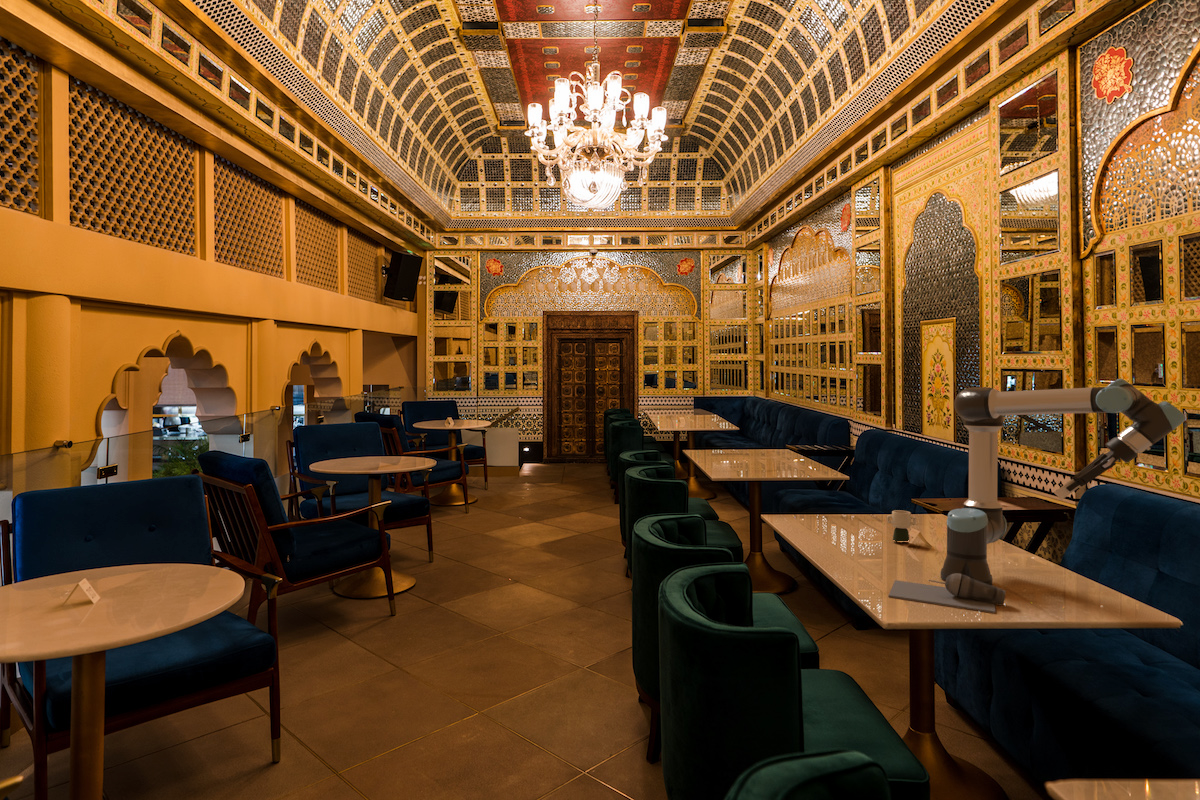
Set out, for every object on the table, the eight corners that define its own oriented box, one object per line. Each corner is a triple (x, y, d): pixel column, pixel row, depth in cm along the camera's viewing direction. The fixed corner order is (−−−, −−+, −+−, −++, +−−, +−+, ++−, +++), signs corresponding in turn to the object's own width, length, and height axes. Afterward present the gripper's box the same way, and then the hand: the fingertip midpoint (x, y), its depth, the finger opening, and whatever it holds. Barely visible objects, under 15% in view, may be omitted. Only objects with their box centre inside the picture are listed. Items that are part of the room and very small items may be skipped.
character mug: (914, 542, 268) (915, 511, 268) (916, 546, 262) (916, 514, 262) (886, 539, 272) (886, 509, 272) (887, 543, 266) (887, 512, 266)
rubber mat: (888, 597, 198) (888, 595, 198) (894, 581, 213) (894, 580, 213) (995, 613, 184) (995, 611, 184) (993, 596, 199) (993, 594, 199)
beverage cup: (1006, 592, 186) (930, 570, 196) (1001, 614, 188) (926, 592, 198) (1006, 581, 192) (932, 561, 202) (1001, 603, 194) (928, 582, 204)
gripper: (1143, 456, 184) (1070, 508, 192) (1134, 452, 195) (1065, 502, 204) (1120, 437, 186) (1049, 489, 195) (1112, 434, 198) (1045, 484, 206)
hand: (1057, 496), depth 199 cm, fingers closed
